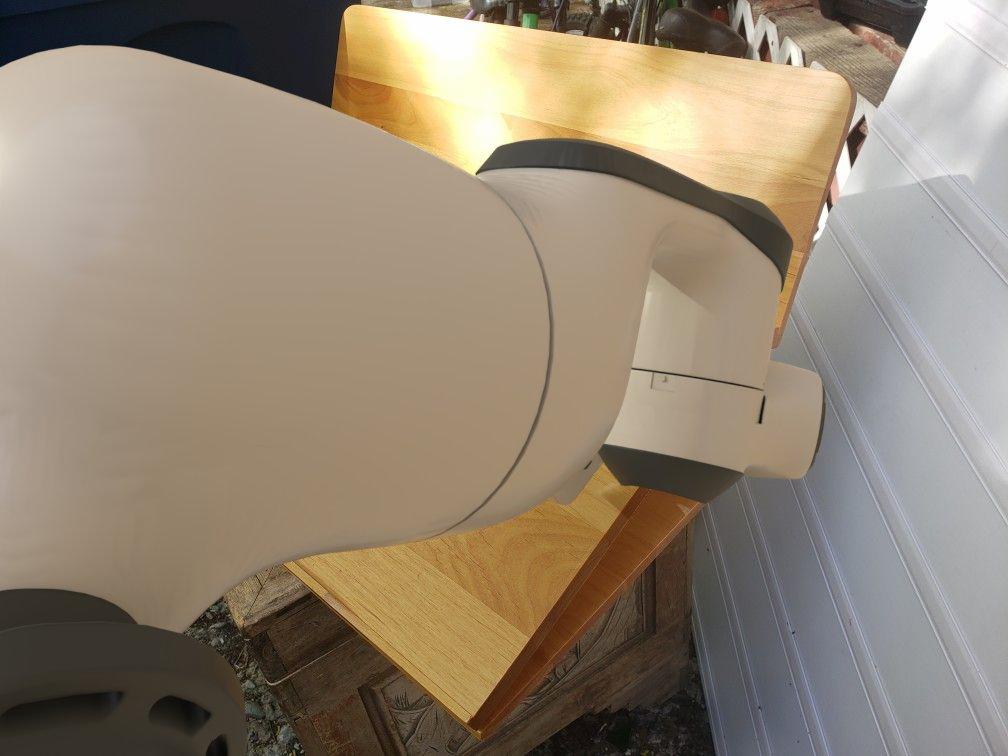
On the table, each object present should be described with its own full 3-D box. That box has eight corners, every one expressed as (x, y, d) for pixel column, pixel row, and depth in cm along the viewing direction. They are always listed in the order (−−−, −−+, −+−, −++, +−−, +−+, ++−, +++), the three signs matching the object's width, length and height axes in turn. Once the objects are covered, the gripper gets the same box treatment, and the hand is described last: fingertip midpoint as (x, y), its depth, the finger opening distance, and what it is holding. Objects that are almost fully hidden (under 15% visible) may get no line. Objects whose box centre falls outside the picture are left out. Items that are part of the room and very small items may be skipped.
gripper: (625, 266, 55) (476, 255, 61) (541, 486, 46) (374, 447, 51) (634, 316, 60) (496, 301, 66) (561, 525, 50) (406, 486, 56)
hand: (441, 367), depth 59 cm, fingers open, 8 cm apart
